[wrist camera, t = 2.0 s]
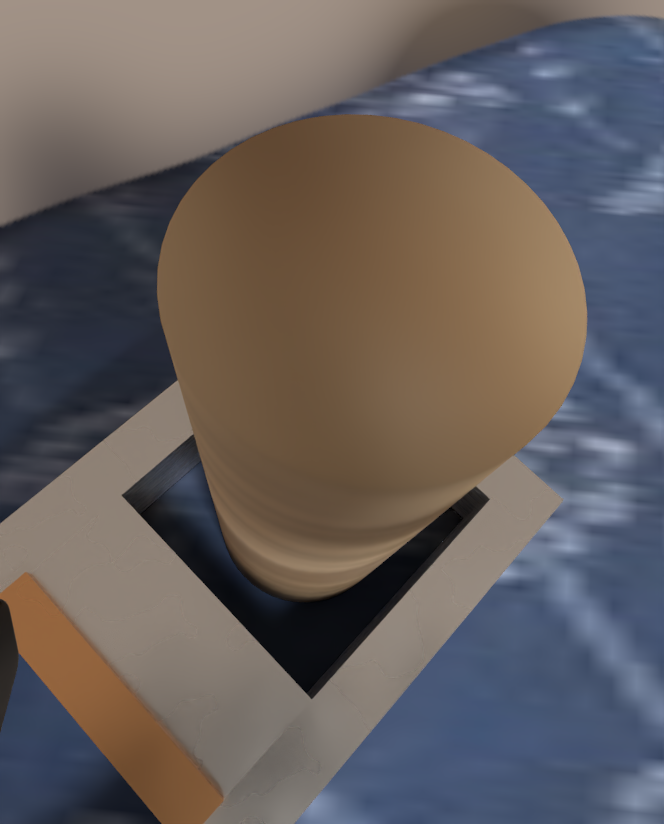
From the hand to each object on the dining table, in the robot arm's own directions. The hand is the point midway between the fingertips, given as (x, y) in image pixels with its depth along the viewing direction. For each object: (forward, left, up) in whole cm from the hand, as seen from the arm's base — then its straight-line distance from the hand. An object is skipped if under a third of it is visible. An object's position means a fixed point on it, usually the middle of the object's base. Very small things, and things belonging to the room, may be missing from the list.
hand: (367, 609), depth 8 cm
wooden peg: (+2, +3, -11) cm, 11 cm away
